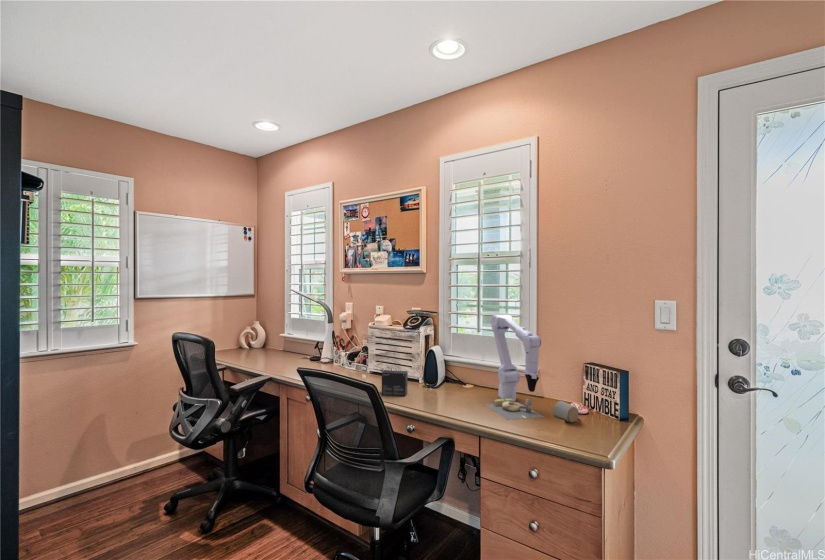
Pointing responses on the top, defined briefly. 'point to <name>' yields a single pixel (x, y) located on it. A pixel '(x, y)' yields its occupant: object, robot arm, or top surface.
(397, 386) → the small box
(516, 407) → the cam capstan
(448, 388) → the top surface
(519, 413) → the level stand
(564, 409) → the ceramic mug
